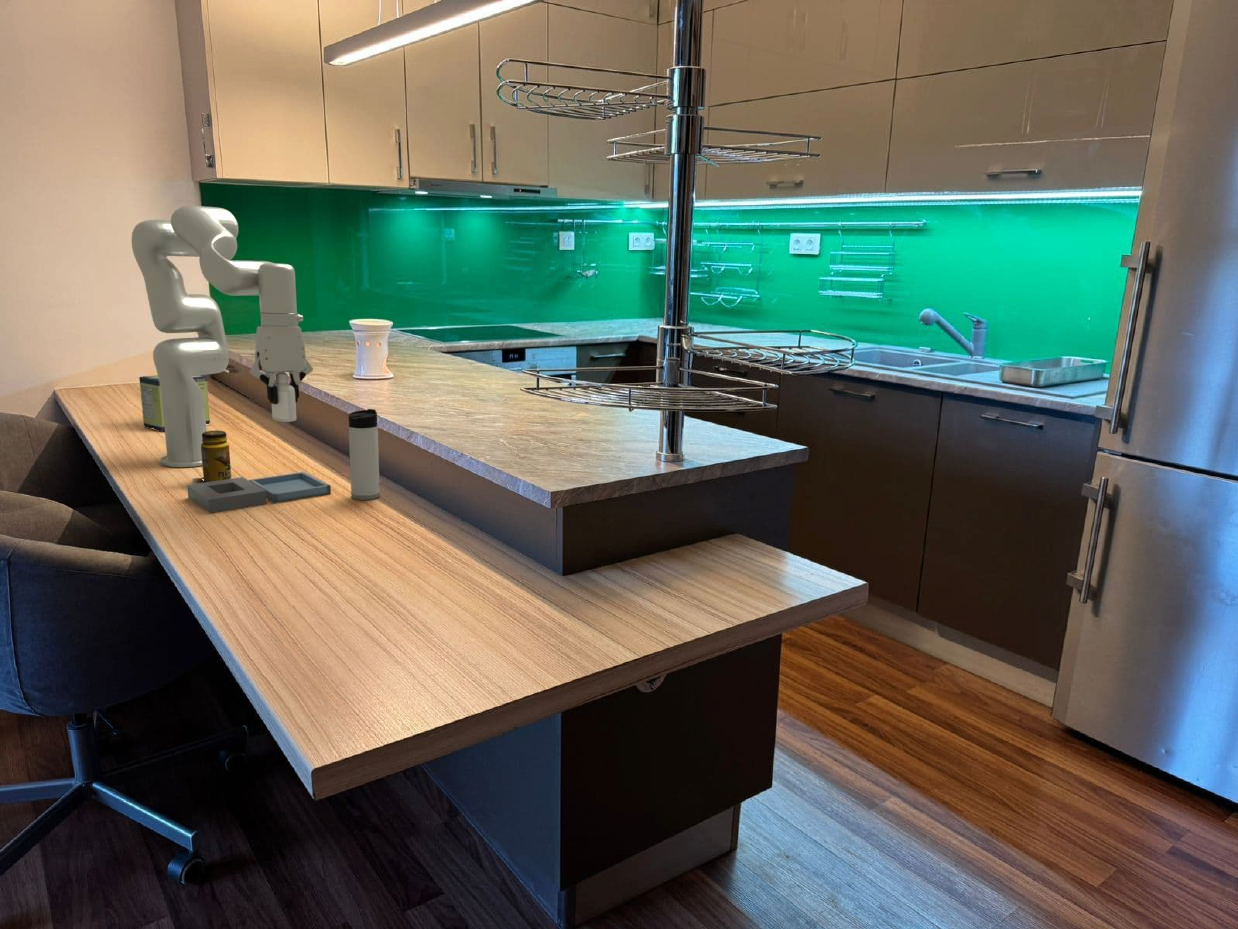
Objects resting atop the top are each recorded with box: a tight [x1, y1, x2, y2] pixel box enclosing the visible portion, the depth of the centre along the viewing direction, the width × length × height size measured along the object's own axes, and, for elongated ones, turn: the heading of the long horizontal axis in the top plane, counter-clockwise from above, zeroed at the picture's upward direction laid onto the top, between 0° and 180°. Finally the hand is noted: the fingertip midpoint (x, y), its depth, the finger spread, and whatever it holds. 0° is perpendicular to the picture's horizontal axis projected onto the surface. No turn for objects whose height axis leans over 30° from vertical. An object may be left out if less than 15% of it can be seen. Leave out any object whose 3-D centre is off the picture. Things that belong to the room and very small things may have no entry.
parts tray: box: [248, 471, 332, 504], centre depth 197 cm, size 15×13×2 cm
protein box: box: [139, 374, 211, 432], centre depth 257 cm, size 10×16×16 cm
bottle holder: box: [186, 476, 268, 514], centre depth 187 cm, size 14×12×3 cm
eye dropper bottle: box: [271, 372, 297, 423], centre depth 191 cm, size 4×6×12 cm
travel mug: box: [348, 408, 381, 501], centre depth 192 cm, size 6×7×20 cm
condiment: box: [191, 429, 233, 484], centre depth 201 cm, size 7×8×12 cm
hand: (283, 401), depth 192 cm, fingers closed on eye dropper bottle, 3 cm apart
